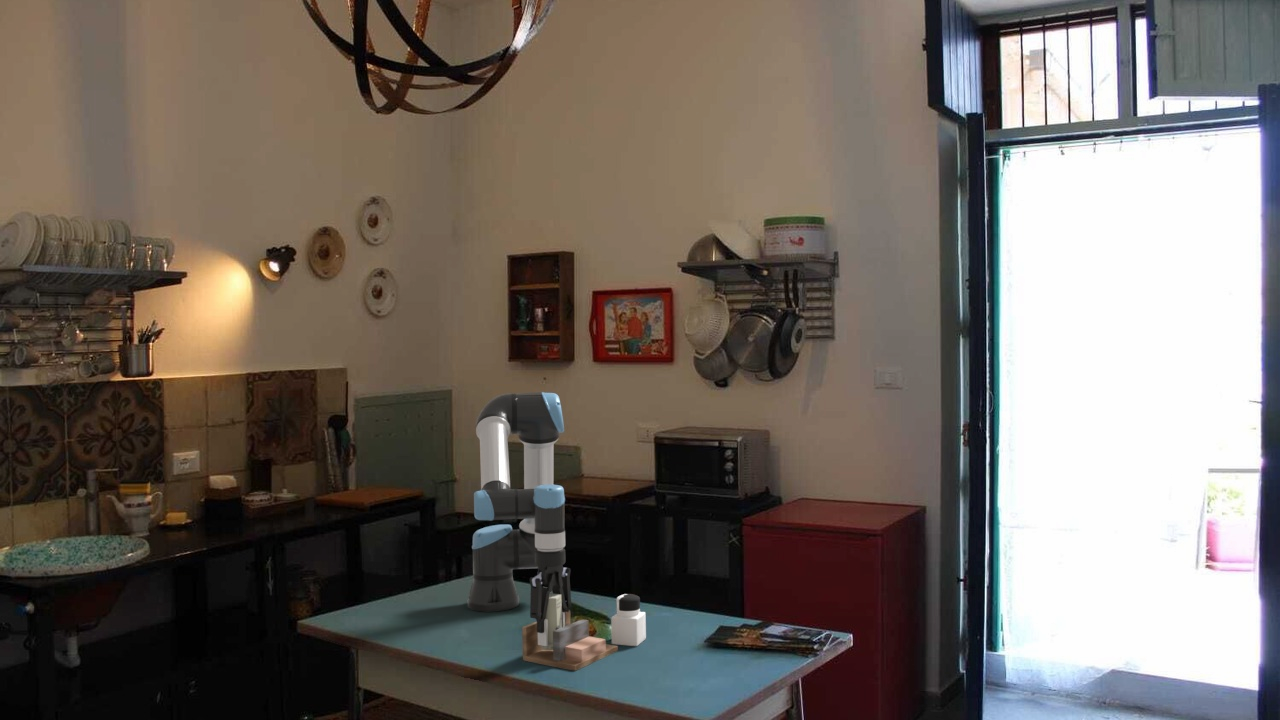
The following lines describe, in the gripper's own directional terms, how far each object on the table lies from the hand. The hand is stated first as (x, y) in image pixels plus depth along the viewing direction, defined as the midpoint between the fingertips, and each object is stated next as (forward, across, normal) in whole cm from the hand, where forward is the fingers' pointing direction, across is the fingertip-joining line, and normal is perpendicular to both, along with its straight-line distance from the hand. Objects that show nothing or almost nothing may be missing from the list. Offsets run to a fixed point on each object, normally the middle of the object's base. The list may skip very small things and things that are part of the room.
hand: (551, 641), depth 253 cm
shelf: (+4, -4, +3) cm, 6 cm away
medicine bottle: (+4, -21, +9) cm, 23 cm away
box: (+2, 0, 0) cm, 2 cm away
